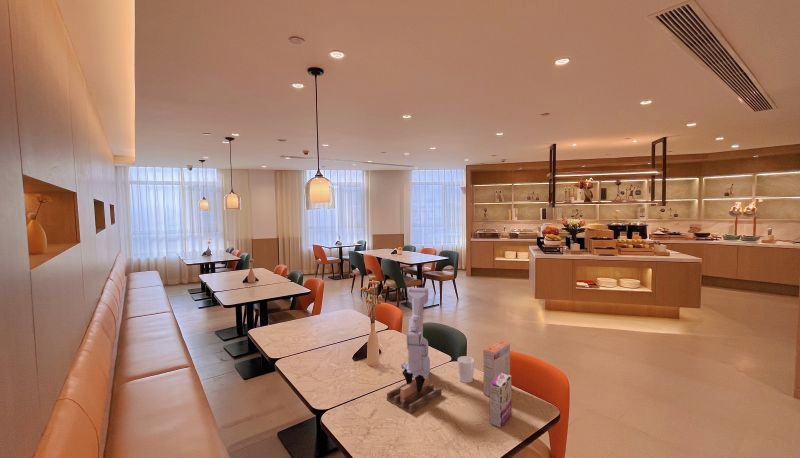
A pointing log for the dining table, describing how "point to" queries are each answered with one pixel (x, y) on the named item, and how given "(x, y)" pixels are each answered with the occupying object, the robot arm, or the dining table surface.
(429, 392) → the slatted brown panel
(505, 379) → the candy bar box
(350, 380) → the dining table surface
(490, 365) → the cracker box
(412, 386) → the clay strip
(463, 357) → the white cup
